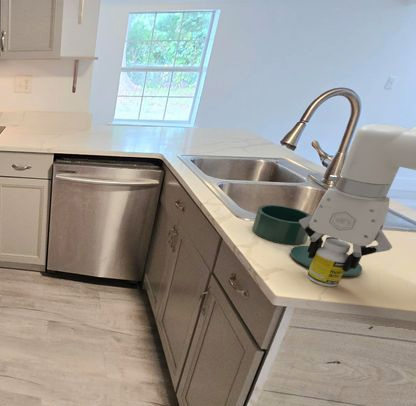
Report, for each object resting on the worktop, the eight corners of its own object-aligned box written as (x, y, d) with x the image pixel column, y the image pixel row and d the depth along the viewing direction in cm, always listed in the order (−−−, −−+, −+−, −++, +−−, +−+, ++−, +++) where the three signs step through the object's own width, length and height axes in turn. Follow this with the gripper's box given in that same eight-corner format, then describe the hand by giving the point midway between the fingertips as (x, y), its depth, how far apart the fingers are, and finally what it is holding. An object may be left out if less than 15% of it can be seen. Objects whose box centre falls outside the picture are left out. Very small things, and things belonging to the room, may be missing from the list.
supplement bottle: (325, 289, 80) (342, 250, 76) (300, 275, 85) (314, 238, 81) (344, 285, 81) (361, 247, 77) (318, 272, 86) (333, 235, 82)
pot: (314, 237, 100) (322, 216, 98) (292, 249, 95) (300, 227, 93) (265, 221, 110) (272, 201, 107) (243, 231, 105) (249, 210, 102)
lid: (370, 268, 87) (381, 243, 84) (346, 284, 81) (357, 259, 78) (304, 244, 97) (312, 222, 95) (279, 258, 92) (287, 234, 89)
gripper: (301, 178, 79) (276, 250, 86) (416, 205, 65) (375, 288, 72) (318, 172, 82) (292, 242, 89) (430, 196, 68) (389, 277, 76)
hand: (329, 262), depth 81 cm, fingers closed on supplement bottle, 5 cm apart
